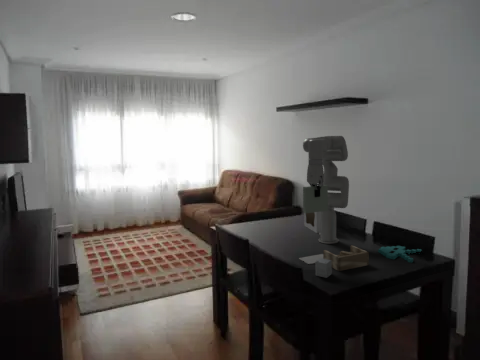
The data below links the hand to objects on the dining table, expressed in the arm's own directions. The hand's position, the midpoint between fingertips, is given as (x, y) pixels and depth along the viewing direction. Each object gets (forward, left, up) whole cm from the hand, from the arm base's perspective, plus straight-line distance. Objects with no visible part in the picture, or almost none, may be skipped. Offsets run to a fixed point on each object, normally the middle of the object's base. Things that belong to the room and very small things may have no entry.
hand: (315, 196), depth 200 cm
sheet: (0, 0, -8) cm, 8 cm away
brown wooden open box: (+13, +10, -35) cm, 39 cm away
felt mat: (0, 0, -35) cm, 35 cm away
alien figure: (+13, +46, -36) cm, 60 cm away
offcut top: (+12, +11, -31) cm, 35 cm away
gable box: (-54, +38, -36) cm, 75 cm away
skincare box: (+20, -9, -36) cm, 42 cm away
